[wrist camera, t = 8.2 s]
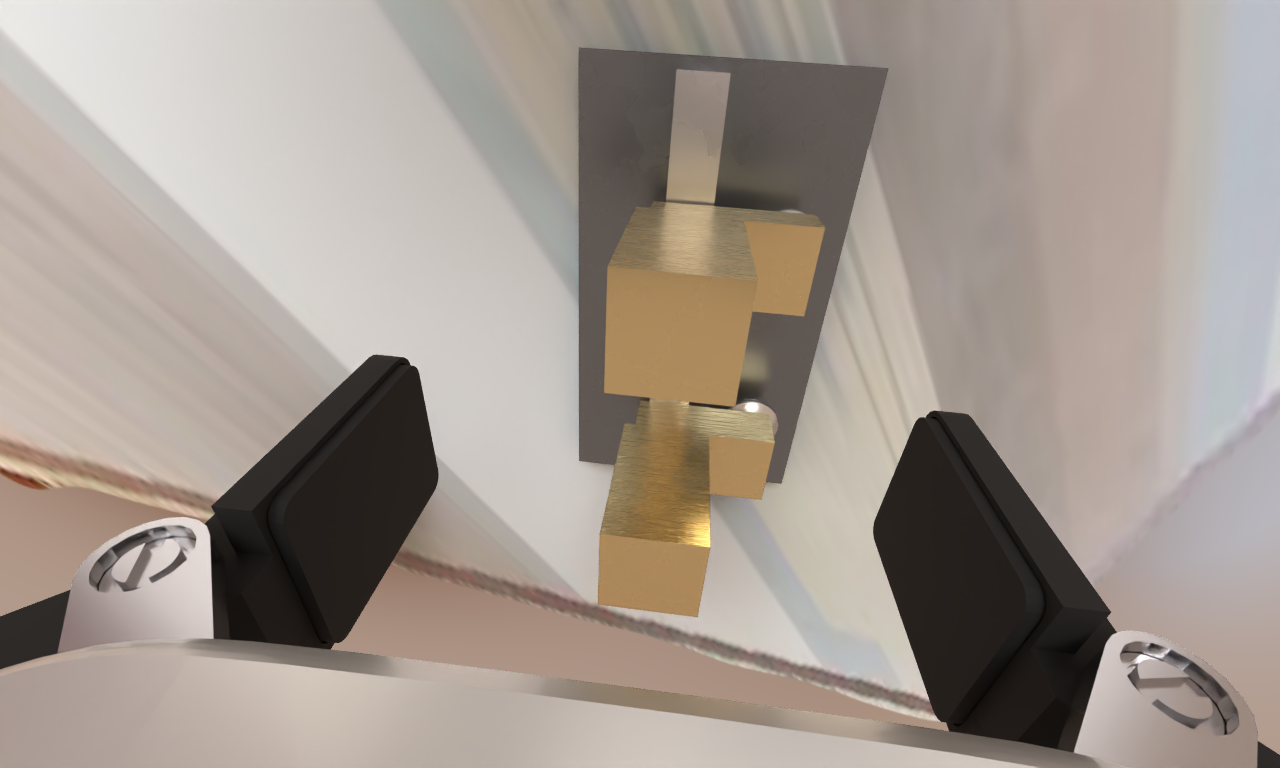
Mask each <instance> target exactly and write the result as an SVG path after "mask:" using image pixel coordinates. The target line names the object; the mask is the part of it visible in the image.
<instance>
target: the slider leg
mask: <svg viewBox="0 0 1280 768" xmlns="http://www.w3.org/2000/svg"><path fill="white" fill-rule="evenodd" d="M824 230H825V227H824V225H823V224H822V223H821V221H820V220H819V219H818V217H817V216H816V215H814V214H802V213H790V212H778V211H766V210H754V209H742V208H730V207H718V206H706V205H695V204H683V203H671V202H659V201H653V204H652V206H651V207H639V206H636V208H635V210H634V212H633V214H632V216H631V218H630V221H629V223H628V225H627V227H626V229H625V231H624V233H623V235H622V237H621V239H620V242H619V244H618V246H617V248H616V250H615V252H614V254H613V256H612V258H611V260H610V263H609V265H608V267H607V303H606V340H605V377H604V393H610V394H619V395H629V396H638V397H648V398H657V399H667V400H676V401H686V402H695V403H704V404H714V405H723V406H733V407H735V405H736V399H737V394H738V388H739V383H740V377H741V372H742V366H743V361H744V355H745V350H746V344H747V339H748V333H749V327H750V322H751V316H752V311H753V312H763V313H774V314H784V315H795V316H804V315H805V311H806V306H807V302H808V298H809V294H810V290H811V285H812V281H813V277H814V273H815V268H816V264H817V260H818V256H819V251H820V247H821V243H822V239H823V235H824Z"/></svg>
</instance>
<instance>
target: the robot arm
mask: <svg viewBox="0 0 1280 768" xmlns="http://www.w3.org/2000/svg"><path fill="white" fill-rule="evenodd" d="M437 483H438V467H437V462H436V457H435V452H434V447H433V442H432V437H431V432H430V427H429V422H428V416H427V411H426V406H425V401H424V396H423V391H422V386H421V381H420V376H419V372H418V369H417V368H416V367H415V366H411V365H410V363H409V361H408V360H407V359H406V358H404V357H394V356H384V355H373V356H371V357H369V358H368V359H367V360H366V361H365V362H364V363H363V364H362V365H361V366H360V367H359V368H358V369H357V370H356V371H355V372H353V373H352V374H351V375H350V376H349V377H348V378H347V379H346V380H345V381H344V382H343V383H342V384H341V385H340V386H339V387H338V388H336V389H335V390H334V391H333V392H332V393H331V394H330V395H329V396H328V397H327V398H326V399H325V400H324V401H323V402H322V403H321V404H319V405H318V406H317V407H316V408H315V409H314V410H313V411H312V412H311V413H310V414H309V415H308V416H307V417H306V418H305V419H304V420H302V421H301V422H300V423H299V424H298V425H297V426H296V427H295V428H294V429H293V430H292V431H291V432H290V433H289V434H288V435H287V436H285V437H284V438H283V439H282V440H281V441H280V442H279V443H278V444H277V445H276V446H275V447H274V448H273V449H272V450H271V451H270V452H268V453H267V454H266V455H265V456H264V457H263V458H262V459H261V460H260V461H259V462H258V463H257V464H256V465H255V466H254V467H253V468H251V469H250V470H249V471H248V472H247V473H246V474H245V475H244V476H243V477H242V478H241V479H240V480H239V481H238V482H237V483H235V484H234V485H233V486H232V487H231V488H230V489H229V490H228V491H227V492H226V493H225V494H224V495H223V496H222V497H221V498H220V499H218V500H217V501H216V502H215V503H214V504H213V505H212V506H211V507H212V509H213V511H214V512H215V514H214V515H213V516H212V517H211V518H210V519H209V520H208V521H207V522H206V523H205V524H203V523H202V522H200V521H199V520H197V519H192V518H186V517H177V518H176V517H175V518H165V519H160V520H156V521H152V522H148V523H145V524H143V525H140V526H137V527H135V528H132V529H129V530H127V531H125V532H123V533H121V534H120V535H118V536H116V537H114V538H113V539H111V540H109V541H107V542H106V543H105V544H103V545H102V546H101V547H99V548H98V549H97V550H96V551H94V552H93V553H92V554H90V556H89V557H88V558H87V559H86V560H85V561H84V562H83V563H82V564H81V566H80V567H79V568H78V570H77V572H76V575H75V577H74V579H73V581H72V586H71V590H69V591H66V592H64V593H61V594H58V595H55V596H53V597H50V598H48V599H45V600H43V601H40V602H37V603H35V604H32V605H29V606H27V607H24V608H21V609H19V610H16V611H14V612H11V613H8V614H6V615H3V616H0V768H1280V755H1279V754H1277V753H1276V752H1274V751H1272V750H1271V749H1270V748H1268V747H1266V746H1265V745H1263V744H1262V743H1260V742H1258V731H1257V726H1256V722H1255V718H1254V715H1253V713H1252V712H1251V710H1250V708H1249V707H1248V705H1247V703H1246V702H1245V700H1244V698H1243V697H1242V696H1241V695H1240V694H1239V692H1238V691H1237V690H1236V689H1235V688H1234V687H1233V686H1232V685H1231V683H1230V682H1229V681H1228V680H1227V679H1226V678H1225V677H1224V676H1222V675H1221V674H1220V673H1219V672H1217V671H1216V670H1215V669H1214V668H1213V667H1212V666H1210V665H1209V664H1208V663H1207V662H1205V661H1204V660H1203V659H1201V658H1199V657H1198V656H1196V655H1195V654H1193V653H1192V652H1190V651H1188V650H1187V649H1185V648H1184V647H1182V646H1180V645H1178V644H1175V643H1173V642H1171V641H1169V640H1167V639H1165V638H1162V637H1160V636H1156V635H1152V634H1149V633H1145V632H1142V631H1125V630H1124V631H1121V632H1119V633H1117V632H1116V631H1115V629H1114V628H1113V626H1112V625H1111V623H1110V622H1109V621H1108V619H1107V617H1108V615H1109V614H1110V613H1111V611H1110V610H1109V609H1108V607H1107V606H1106V604H1105V603H1104V602H1103V601H1102V599H1101V597H1100V596H1099V595H1098V593H1097V592H1096V591H1095V589H1094V588H1093V586H1092V585H1091V584H1090V582H1089V581H1088V579H1087V578H1086V577H1085V575H1084V574H1083V572H1082V571H1081V570H1080V568H1079V567H1078V565H1077V564H1076V563H1075V561H1074V560H1073V558H1072V557H1071V556H1070V554H1069V553H1068V551H1067V550H1066V549H1065V547H1064V546H1063V545H1062V543H1061V542H1060V540H1059V539H1058V538H1057V536H1056V535H1055V533H1054V532H1053V531H1052V529H1051V528H1050V526H1049V525H1048V524H1047V522H1046V521H1045V519H1044V518H1043V517H1042V515H1041V514H1040V512H1039V511H1038V510H1037V508H1036V507H1035V505H1034V504H1033V503H1032V501H1031V500H1030V499H1029V497H1028V496H1027V494H1026V493H1025V492H1024V490H1023V489H1022V487H1021V486H1020V485H1019V483H1018V482H1017V480H1016V479H1015V478H1014V476H1013V475H1012V473H1011V472H1010V471H1009V469H1008V468H1007V466H1006V465H1005V464H1004V462H1003V461H1002V459H1001V458H1000V457H999V455H998V454H997V453H996V451H995V450H994V448H993V447H992V446H991V444H990V443H989V441H988V440H987V439H986V437H985V436H984V434H983V433H982V432H981V430H980V429H979V427H978V426H977V425H976V423H975V422H974V420H973V419H972V418H971V417H970V416H969V415H967V414H963V413H953V412H943V411H931V412H930V413H929V414H928V415H927V416H926V418H923V417H921V418H919V419H918V420H917V421H916V423H915V424H914V427H913V429H912V432H911V434H910V436H909V439H908V441H907V444H906V446H905V449H904V451H903V453H902V456H901V458H900V461H899V463H898V465H897V468H896V470H895V473H894V475H893V477H892V480H891V482H890V485H889V487H888V490H887V492H886V494H885V497H884V499H883V502H882V504H881V506H880V509H879V511H878V514H877V516H876V518H875V522H874V527H873V534H874V540H875V543H876V546H877V549H878V552H879V555H880V558H881V561H882V564H883V567H884V569H885V572H886V575H887V578H888V581H889V584H890V587H891V590H892V593H893V596H894V598H895V601H896V604H897V607H898V610H899V613H900V616H901V619H902V622H903V624H904V627H905V630H906V633H907V636H908V639H909V642H910V645H911V648H912V651H913V653H914V656H915V659H916V662H917V665H918V668H919V671H920V674H921V677H922V680H923V682H924V685H925V688H926V691H927V694H928V697H929V700H930V703H931V706H932V709H933V711H934V713H935V715H936V717H937V718H938V719H939V720H940V721H941V722H946V723H947V726H948V729H949V731H944V730H937V729H930V728H924V727H917V726H911V725H904V724H897V723H890V722H883V721H875V720H867V719H860V718H853V717H846V716H838V715H831V714H824V713H817V712H809V711H802V710H794V709H787V708H780V707H772V706H765V705H758V704H751V703H743V702H736V701H728V700H721V699H714V698H705V697H698V696H690V695H682V694H676V693H668V692H661V691H653V690H645V689H638V688H630V687H623V686H615V685H607V684H600V683H592V682H584V681H577V680H569V679H561V678H554V677H546V676H538V675H531V674H522V673H515V672H507V671H499V670H491V669H483V668H475V667H467V666H459V665H451V664H443V663H436V662H428V661H419V660H412V659H404V658H396V657H388V656H379V655H372V654H364V653H355V652H347V651H338V650H330V649H331V648H332V646H333V645H334V643H339V642H342V641H343V640H344V639H345V638H346V637H347V635H348V634H349V632H350V631H351V629H352V627H353V626H354V624H355V622H356V621H357V619H358V617H359V616H360V614H361V612H362V611H363V609H364V607H365V605H366V604H367V602H368V601H369V599H370V597H371V596H372V594H373V592H374V591H375V589H376V587H377V586H378V584H379V582H380V581H381V579H382V577H383V576H384V574H385V572H386V571H387V569H388V567H389V566H390V564H391V562H392V561H393V559H394V557H395V556H396V554H397V552H398V551H399V549H400V547H401V546H402V544H403V542H404V541H405V539H406V537H407V536H408V534H409V532H410V531H411V529H412V527H413V526H414V524H415V522H416V521H417V519H418V517H419V516H420V514H421V512H422V511H423V509H424V507H425V506H426V504H427V502H428V501H429V499H430V497H431V496H432V494H433V492H434V491H435V489H436V486H437Z"/></svg>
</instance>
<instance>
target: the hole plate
mask: <svg viewBox="0 0 1280 768" xmlns="http://www.w3.org/2000/svg"><path fill="white" fill-rule="evenodd" d="M887 72H888V68H874V67H859V66H844V65H829V64H814V63H800V62H785V61H770V60H755V59H740V58H725V57H710V56H695V55H680V54H666V53H651V52H636V51H621V50H606V49H591V48H579V461H586V462H595V463H603V464H612V465H615V468H614V473H613V477H612V482H611V486H610V491H609V495H608V500H607V504H606V509H605V513H604V518H603V522H602V527H601V531H600V547H599V585H598V604H599V605H607V606H615V607H623V608H630V609H638V610H646V611H654V612H661V613H669V614H677V615H685V616H692V617H698V612H699V606H700V601H701V595H702V590H703V584H704V579H705V573H706V568H707V562H708V557H709V551H710V494H716V495H725V496H734V497H742V498H751V499H760V500H761V499H762V495H763V491H764V486H765V482H771V483H780V484H781V483H782V479H783V475H784V471H785V468H786V464H787V460H788V456H789V452H790V448H791V444H792V440H793V437H794V433H795V429H796V425H797V421H798V417H799V413H800V409H801V406H802V402H803V398H804V394H805V390H806V386H807V382H808V378H809V374H810V371H811V367H812V363H813V359H814V355H815V351H816V347H817V343H818V340H819V336H820V332H821V328H822V324H823V320H824V316H825V312H826V309H827V305H828V301H829V297H830V293H831V289H832V285H833V281H834V277H835V274H836V270H837V266H838V262H839V258H840V254H841V250H842V246H843V243H844V239H845V235H846V231H847V227H848V223H849V219H850V215H851V212H852V208H853V204H854V200H855V196H856V192H857V188H858V184H859V181H860V177H861V173H862V169H863V165H864V161H865V157H866V153H867V149H868V146H869V142H870V138H871V134H872V130H873V126H874V122H875V118H876V115H877V111H878V107H879V103H880V99H881V95H882V91H883V87H884V84H885V80H886V76H887ZM653 201H659V202H671V203H683V204H695V205H706V206H718V207H730V208H742V209H754V210H766V211H778V212H790V213H802V214H814V215H816V216H817V217H818V219H819V220H820V221H821V223H822V224H823V225H824V227H825V230H824V235H823V239H822V243H821V247H820V251H819V256H818V260H817V264H816V268H815V273H814V277H813V281H812V285H811V290H810V294H809V298H808V302H807V306H806V311H805V315H804V316H795V315H784V314H774V313H763V312H753V311H752V316H751V322H750V327H749V333H748V339H747V344H746V350H745V355H744V361H743V366H742V372H741V377H740V383H739V388H738V394H737V399H736V405H735V407H733V406H723V405H714V404H704V403H695V402H686V401H676V400H667V399H657V398H648V397H638V396H629V395H619V394H610V393H604V377H605V340H606V303H607V267H608V265H609V263H610V260H611V258H612V256H613V254H614V252H615V250H616V248H617V246H618V244H619V242H620V239H621V237H622V235H623V233H624V231H625V229H626V227H627V225H628V223H629V221H630V218H631V216H632V214H633V212H634V210H635V208H636V206H639V207H651V206H652V204H653Z"/></svg>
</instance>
